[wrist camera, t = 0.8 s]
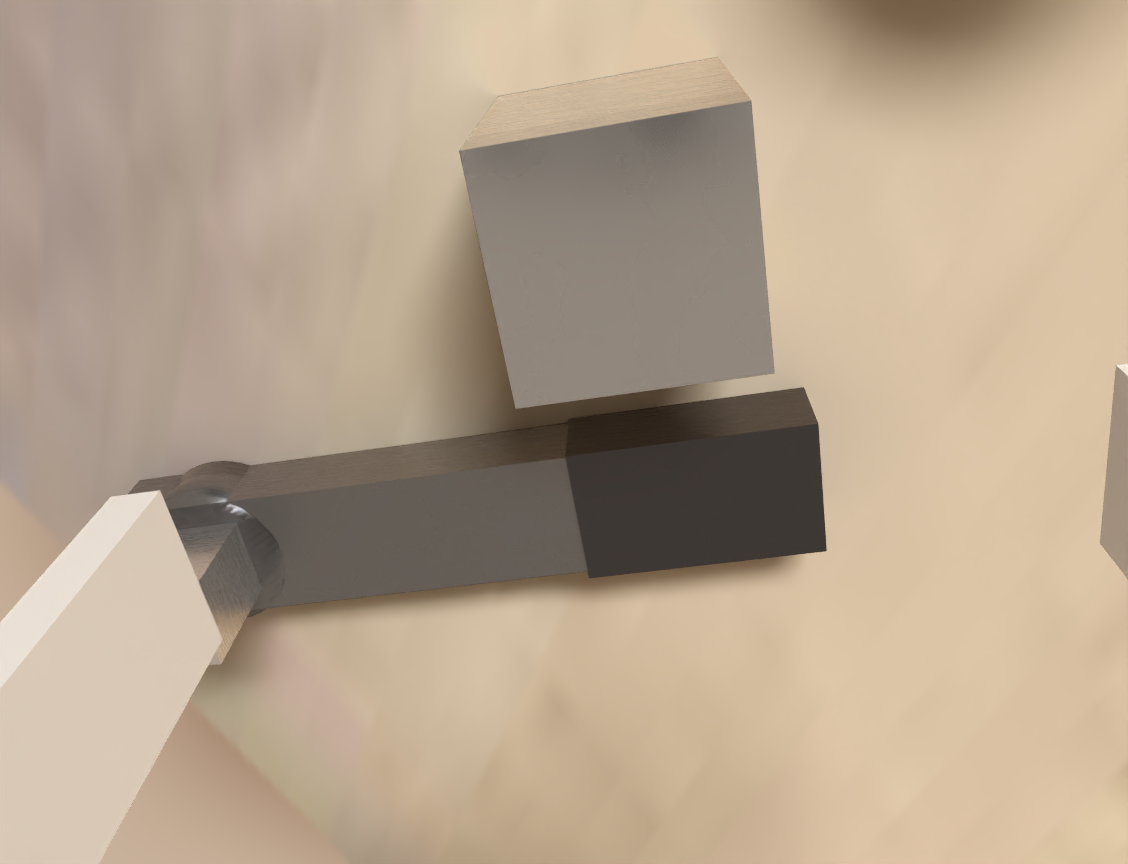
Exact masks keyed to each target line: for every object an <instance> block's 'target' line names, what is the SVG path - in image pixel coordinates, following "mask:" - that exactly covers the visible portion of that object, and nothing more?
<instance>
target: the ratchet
mask: <svg viewBox="0 0 1128 864" xmlns="http://www.w3.org/2000/svg"><path fill="white" fill-rule="evenodd" d="M158 490H160V491H161V494H162V496H163V499H164V501H165V503H166V506H167V508H168V510H169V513H170V515H171V518H172V520H173V522H174V525H175V527H176V530H177V532H178V534H179V537H180V539H181V541H182V544H183V546H184V549H185V551H186V553H187V556H188V558H189V561H190V563H191V565H192V568H193V570H194V572H195V575H196V577H197V580H198V582H199V584H200V587H201V589H202V592H203V594H204V596H205V599H206V601H207V603H208V606H209V608H210V611H211V613H212V615H213V618H214V620H215V623H216V625H217V627H218V630H219V632H220V635H221V637H222V641H221V643H220V645H219V647H218V649H217V650H216V652H215V654H214V656H213V658H212V659H211V661H210V663H209V665H217V664H222V662H223V660H224V658H225V656H226V654H227V653H228V651H229V649H230V647H231V645H232V643H233V642H234V640H235V638H236V636H237V634H238V632H239V630H240V629H241V627H242V625H243V623H244V621H245V619H246V618H247V617H251V616H253V615H256V614H258V613H260V612H262V611H263V610H265V609H266V608H273V607H281V606H290V605H299V604H308V603H316V602H325V601H334V600H342V599H351V598H360V597H368V596H377V595H386V594H395V593H403V592H412V591H421V590H429V589H438V588H447V587H455V586H464V585H473V584H482V583H490V582H499V581H508V580H516V579H525V578H534V577H542V576H551V575H560V574H569V573H577V572H586V571H588V575H589V578H595V577H604V576H613V575H621V574H630V573H639V572H648V571H656V570H665V569H674V568H683V567H691V566H700V565H709V564H718V563H726V562H735V561H744V560H753V559H762V558H770V557H779V556H788V555H797V554H805V553H814V552H823V551H826V535H825V520H824V505H823V489H822V474H821V458H820V443H819V428H818V422H817V419H816V417H815V414H814V412H813V409H812V407H811V404H810V402H809V399H808V397H807V394H806V392H805V389H804V387H803V388H796V389H788V390H781V391H774V392H766V393H759V394H751V395H744V396H736V397H729V398H722V399H714V400H707V401H699V402H692V403H685V404H677V405H670V406H662V407H655V408H647V409H640V410H633V411H625V412H618V413H610V414H603V415H595V416H588V417H581V418H573V419H569V423H565V424H558V425H550V426H543V427H535V428H528V429H521V430H513V431H506V432H498V433H491V434H483V435H476V436H468V437H461V438H454V439H446V440H439V441H431V442H424V443H416V444H409V445H401V446H394V447H387V448H379V449H372V450H364V451H357V452H349V453H342V454H334V455H327V456H320V457H312V458H305V459H297V460H290V461H282V462H275V463H267V464H260V465H252V466H250V465H246V464H243V463H237V462H228V461H219V462H211V463H206V464H203V465H200V466H197V467H195V468H193V469H191V470H189V471H188V472H186V473H185V474H184V475H178V476H171V477H163V478H156V479H148V480H141V481H139V482H138V483H137V484H136V486H135V487H134V488H133V489H132V490H131V491H130V493H129V494H135V493H143V492H151V491H158Z"/></svg>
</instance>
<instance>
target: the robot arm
mask: <svg viewBox="0 0 1128 864" xmlns="http://www.w3.org/2000/svg"><path fill="white" fill-rule="evenodd" d="M1100 544H1101V545H1102V546H1103V548H1104V549H1105V550H1106V552H1107V553H1108V554H1109V556H1110V557H1111V558H1112V559H1113V561H1114V562H1115V563H1116V565H1117V566H1118V567H1119V568H1120V570H1121V571H1122V572H1123V574H1124V575H1125V576H1126V577H1127V579H1128V364H1123V365H1116V371H1115V382H1114V393H1113V404H1112V415H1111V426H1110V437H1109V448H1108V459H1107V470H1106V481H1105V492H1104V503H1103V514H1102V525H1101V536H1100ZM221 641H222V637H221V635H220V632H219V630H218V627H217V625H216V623H215V620H214V618H213V615H212V613H211V611H210V608H209V606H208V603H207V601H206V599H205V596H204V594H203V592H202V589H201V587H200V584H199V582H198V580H197V577H196V575H195V572H194V570H193V568H192V565H191V563H190V561H189V558H188V556H187V553H186V551H185V549H184V546H183V544H182V541H181V539H180V537H179V534H178V532H177V530H176V527H175V525H174V522H173V520H172V518H171V515H170V513H169V510H168V508H167V506H166V503H165V501H164V499H163V496H162V494H161V491H160V490H158V491H151V492H143V493H135V494H128V495H120V496H112V497H110V498H109V499H108V501H107V502H106V503H105V504H104V505H103V506H102V507H101V508H100V510H99V511H98V512H97V513H96V514H95V515H94V516H93V518H92V519H91V520H90V521H89V522H88V523H87V524H86V525H85V527H84V528H83V529H82V530H81V531H80V532H79V533H78V535H77V536H76V537H75V538H74V539H73V540H72V541H71V543H70V544H69V545H68V546H67V547H66V548H65V549H64V550H63V552H62V553H61V554H60V555H59V556H58V557H57V558H56V560H55V561H54V562H53V563H52V564H51V565H50V566H49V567H48V569H47V570H46V571H45V572H44V573H43V574H42V575H41V577H40V578H39V579H38V580H37V581H36V582H35V583H34V585H33V586H32V587H31V588H30V589H29V590H28V591H27V592H26V594H25V595H24V596H23V597H22V598H21V599H20V600H19V602H18V603H17V604H16V605H15V606H14V607H13V608H12V610H11V611H10V612H9V613H8V614H7V615H6V616H5V617H4V619H3V620H2V621H1V622H0V864H99V863H100V861H101V859H102V857H103V855H104V854H105V852H106V850H107V848H108V846H109V845H110V843H111V841H112V839H113V837H114V835H115V834H116V832H117V830H118V828H119V826H120V825H121V823H122V821H123V819H124V817H125V815H126V814H127V812H128V810H129V808H130V806H131V805H132V803H133V801H134V799H135V797H136V796H137V794H138V792H139V790H140V788H141V787H142V785H143V783H144V781H145V779H146V777H147V775H148V773H149V772H150V770H151V768H152V766H153V765H154V763H155V761H156V759H157V757H158V755H159V754H160V752H161V750H162V748H163V747H164V745H165V743H166V741H167V739H168V737H169V736H170V733H171V732H172V730H173V728H174V727H175V725H176V723H177V721H178V719H179V718H180V716H181V714H182V712H183V710H184V708H185V707H186V705H187V703H188V701H189V699H190V698H191V696H192V694H193V692H194V690H195V688H196V687H197V685H198V683H199V681H200V679H201V678H202V676H203V674H204V672H205V670H206V669H207V667H208V665H209V663H210V661H211V659H212V658H213V656H214V654H215V652H216V650H217V649H218V647H219V645H220V643H221Z"/></svg>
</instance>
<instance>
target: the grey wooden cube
mask: <svg viewBox="0 0 1128 864" xmlns="http://www.w3.org/2000/svg"><path fill="white" fill-rule="evenodd" d="M459 153H460V157H461V162H462V167H463V171H464V176H465V180H466V185H467V189H468V194H469V199H470V203H471V208H472V212H473V217H474V221H475V226H476V231H477V235H478V240H479V244H480V249H481V253H482V258H483V263H484V267H485V272H486V276H487V281H488V285H489V290H490V295H491V299H492V304H493V308H494V313H495V317H496V322H497V327H498V331H499V336H500V340H501V345H502V349H503V354H504V358H505V363H506V368H507V372H508V377H509V381H510V386H511V390H512V395H513V400H514V404H515V409H519V408H526V407H533V406H541V405H548V404H555V403H562V402H570V401H577V400H584V399H592V398H599V397H606V396H614V395H621V394H628V393H635V392H643V391H650V390H657V389H665V388H672V387H679V386H686V385H694V384H701V383H708V382H716V381H723V380H730V379H738V378H745V377H752V376H759V375H767V374H774V361H773V350H772V338H771V326H770V315H769V303H768V291H767V279H766V268H765V256H764V244H763V233H762V221H761V209H760V197H759V186H758V174H757V162H756V150H755V139H754V127H753V115H752V104H751V100H750V98H749V97H748V96H747V94H746V93H745V92H744V90H743V89H742V88H741V87H740V85H739V84H738V83H737V81H736V80H735V79H734V77H733V76H732V75H731V73H730V72H729V71H728V70H727V68H726V67H725V66H724V64H723V63H722V62H721V60H720V59H719V58H718V57H717V58H711V59H705V60H700V61H694V62H689V63H683V64H677V65H672V66H666V67H660V68H655V69H649V70H644V71H638V72H632V73H627V74H621V75H615V76H610V77H604V78H599V79H593V80H587V81H582V82H576V83H570V84H565V85H559V86H554V87H548V88H542V89H537V90H531V91H525V92H520V93H514V94H509V95H503V96H498V97H497V99H496V100H495V102H494V103H493V104H492V106H491V107H490V109H489V110H488V111H487V113H486V114H485V115H484V117H483V118H482V120H481V121H480V122H479V124H478V125H477V127H476V128H475V129H474V131H473V132H472V133H471V135H470V136H469V138H468V139H467V140H466V142H465V143H464V145H463V146H462V147H461V149H460V150H459Z"/></svg>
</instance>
